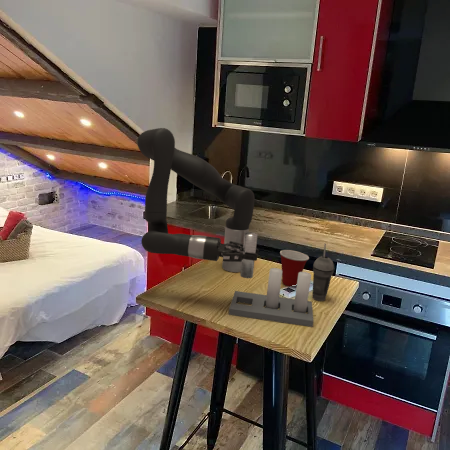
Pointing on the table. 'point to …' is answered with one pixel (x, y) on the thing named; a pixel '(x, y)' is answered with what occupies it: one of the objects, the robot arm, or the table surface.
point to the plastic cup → (292, 266)
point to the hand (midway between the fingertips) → (257, 254)
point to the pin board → (276, 302)
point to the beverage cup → (322, 276)
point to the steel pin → (250, 247)
